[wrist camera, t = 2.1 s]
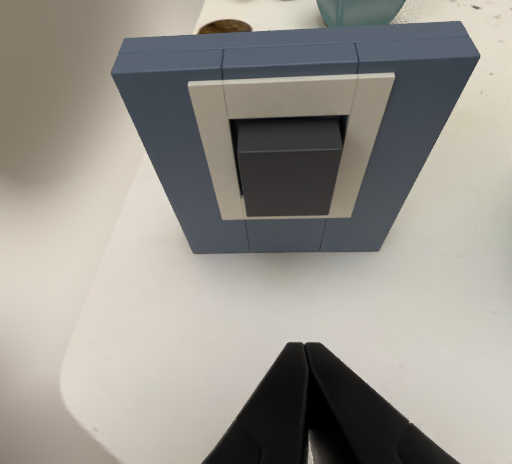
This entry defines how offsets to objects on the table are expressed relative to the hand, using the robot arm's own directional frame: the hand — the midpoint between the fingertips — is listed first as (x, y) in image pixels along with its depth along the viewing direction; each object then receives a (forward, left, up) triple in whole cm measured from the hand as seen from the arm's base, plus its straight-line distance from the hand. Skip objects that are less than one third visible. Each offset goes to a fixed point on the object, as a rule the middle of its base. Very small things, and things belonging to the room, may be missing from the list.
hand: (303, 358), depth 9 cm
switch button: (+8, +4, -6) cm, 11 cm away
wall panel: (+10, +5, -13) cm, 18 cm away
